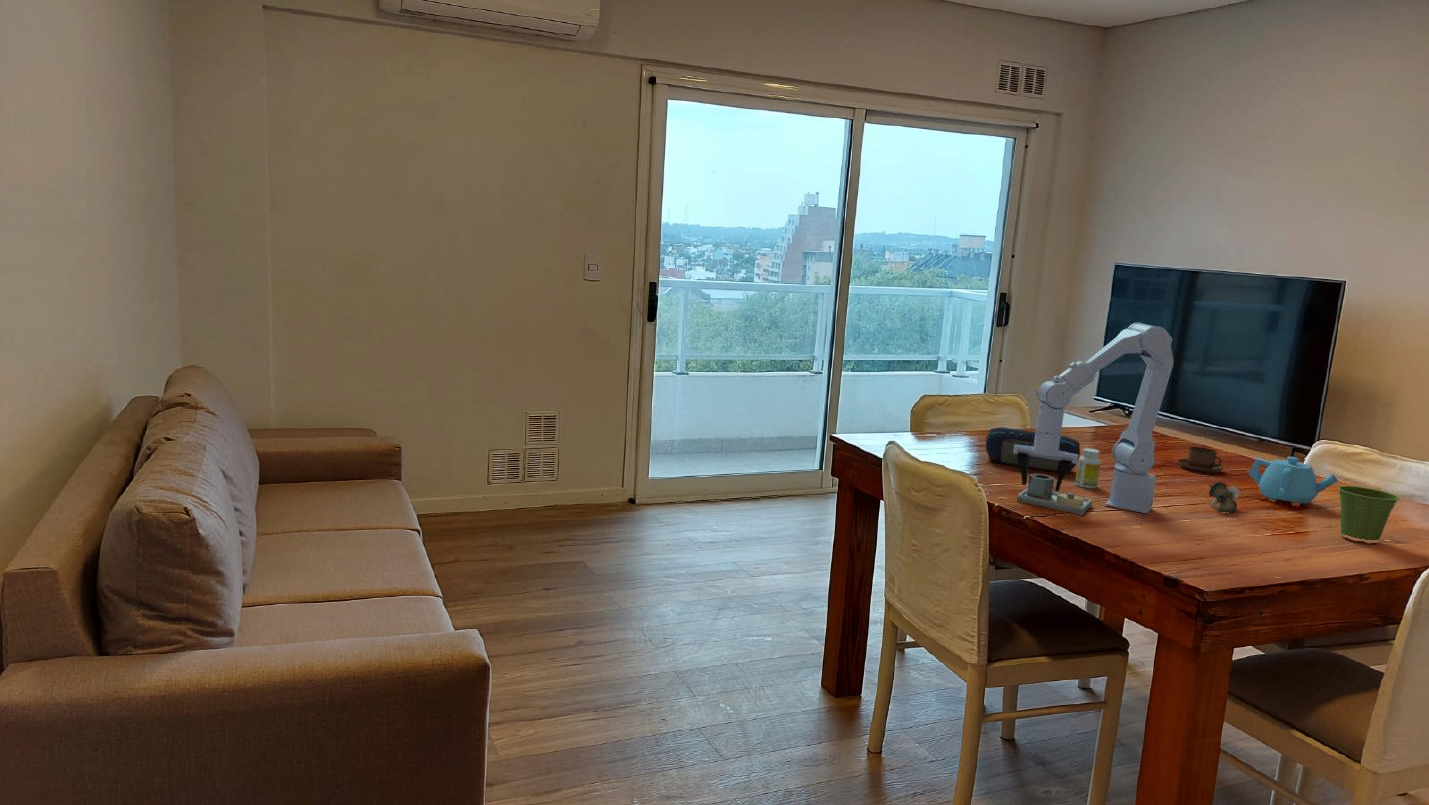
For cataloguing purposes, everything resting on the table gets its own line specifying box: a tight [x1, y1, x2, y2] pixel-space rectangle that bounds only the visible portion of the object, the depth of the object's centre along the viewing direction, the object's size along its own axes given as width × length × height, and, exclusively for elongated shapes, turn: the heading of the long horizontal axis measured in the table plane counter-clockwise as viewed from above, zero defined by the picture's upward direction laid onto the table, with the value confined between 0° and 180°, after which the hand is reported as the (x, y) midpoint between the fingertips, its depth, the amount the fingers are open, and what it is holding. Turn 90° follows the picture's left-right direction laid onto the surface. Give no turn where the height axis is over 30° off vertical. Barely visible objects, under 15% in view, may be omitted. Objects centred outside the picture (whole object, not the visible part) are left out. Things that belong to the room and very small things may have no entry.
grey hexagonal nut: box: [1027, 473, 1056, 500], centre depth 233 cm, size 6×6×5 cm
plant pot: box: [1336, 485, 1401, 540], centre depth 221 cm, size 12×12×11 cm
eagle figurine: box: [1208, 481, 1240, 514], centre depth 240 cm, size 8×8×10 cm
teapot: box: [1247, 456, 1339, 504], centre depth 252 cm, size 20×17×12 cm
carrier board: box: [1016, 487, 1093, 516], centre depth 232 cm, size 15×10×3 cm, turn 58°
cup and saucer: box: [1177, 446, 1224, 473], centre depth 284 cm, size 12×12×6 cm
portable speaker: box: [985, 426, 1081, 473], centre depth 270 cm, size 25×10×10 cm, turn 67°
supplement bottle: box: [1074, 447, 1102, 489], centre depth 252 cm, size 5×5×10 cm
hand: (1040, 487), depth 233 cm, fingers open, 7 cm apart
